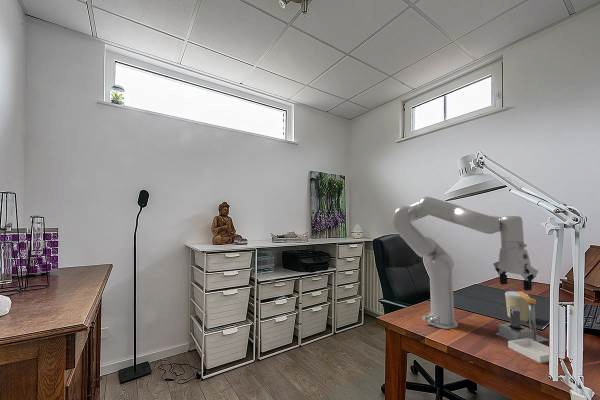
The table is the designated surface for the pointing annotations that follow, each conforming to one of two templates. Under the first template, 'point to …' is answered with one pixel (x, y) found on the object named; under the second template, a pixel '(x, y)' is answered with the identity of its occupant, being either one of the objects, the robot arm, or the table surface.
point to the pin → (515, 318)
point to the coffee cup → (517, 304)
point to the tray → (531, 349)
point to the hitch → (522, 329)
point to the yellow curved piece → (527, 298)
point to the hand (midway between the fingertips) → (515, 287)
